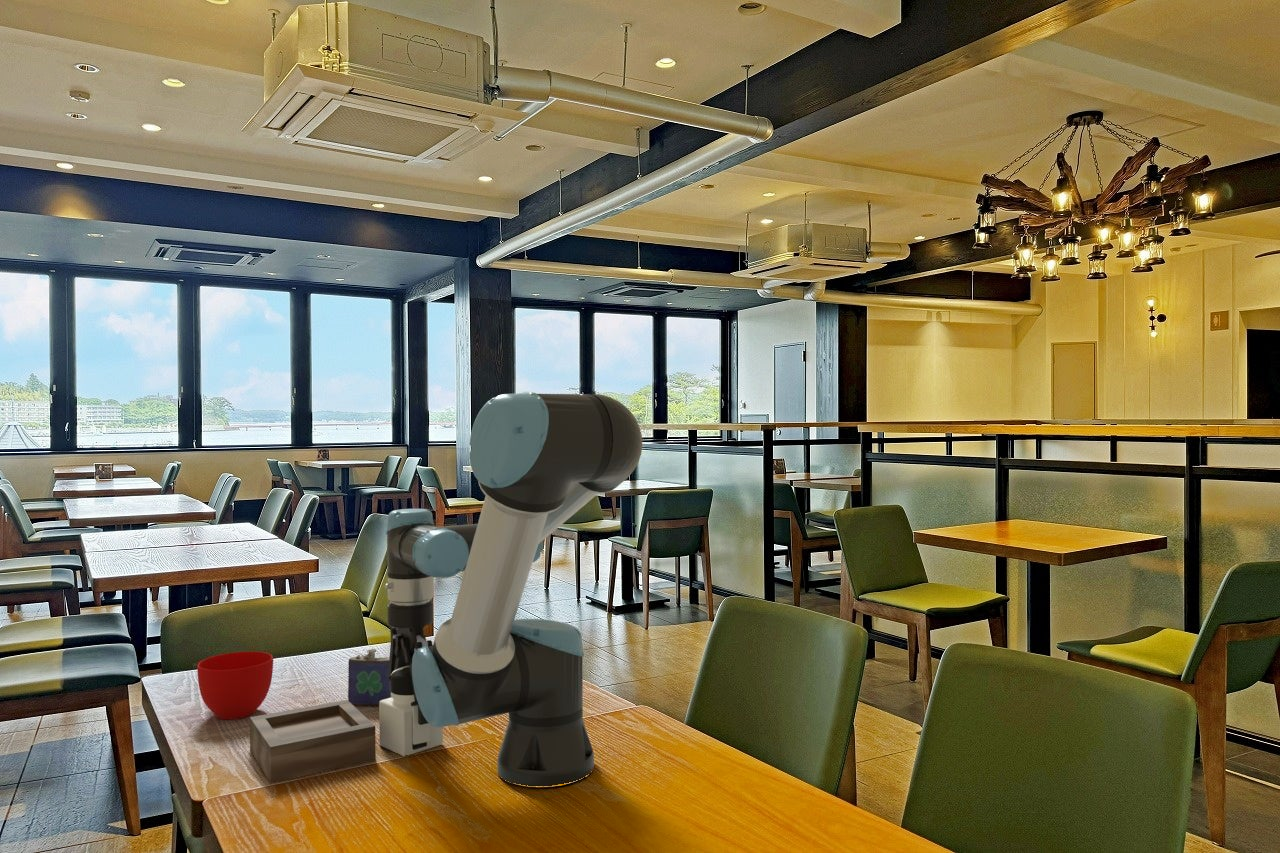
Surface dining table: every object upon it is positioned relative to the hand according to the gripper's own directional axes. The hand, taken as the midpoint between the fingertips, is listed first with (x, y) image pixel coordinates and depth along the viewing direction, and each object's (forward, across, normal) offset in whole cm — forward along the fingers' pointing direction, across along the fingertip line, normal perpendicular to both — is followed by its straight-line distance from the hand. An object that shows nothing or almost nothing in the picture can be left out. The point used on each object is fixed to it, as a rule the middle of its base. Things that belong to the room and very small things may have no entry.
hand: (411, 733), depth 149 cm
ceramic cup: (+2, -36, -22) cm, 42 cm away
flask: (+2, -25, +1) cm, 25 cm away
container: (+2, 0, 0) cm, 2 cm away
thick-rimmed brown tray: (+2, -5, -15) cm, 16 cm away
